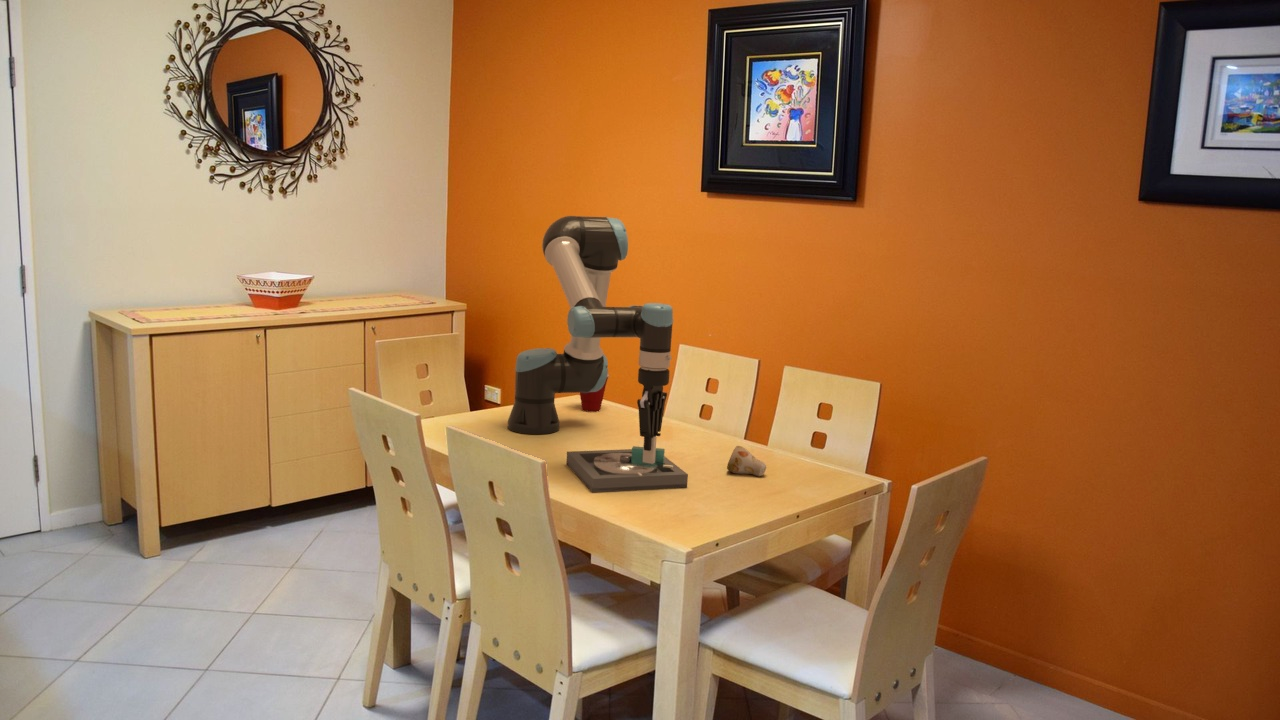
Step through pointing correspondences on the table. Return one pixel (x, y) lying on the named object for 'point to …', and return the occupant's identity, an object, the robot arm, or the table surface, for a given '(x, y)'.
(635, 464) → the dial
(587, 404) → the plastic cup
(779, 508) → the table surface
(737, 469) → the beige spotted tapered lump
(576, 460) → the housing
